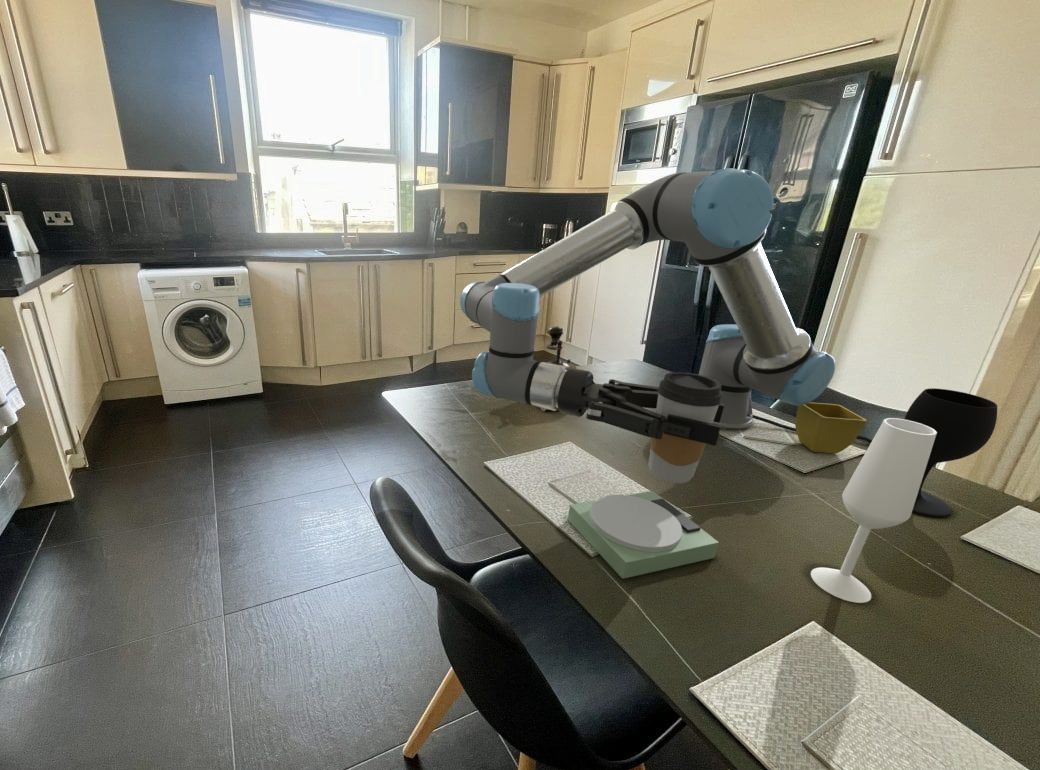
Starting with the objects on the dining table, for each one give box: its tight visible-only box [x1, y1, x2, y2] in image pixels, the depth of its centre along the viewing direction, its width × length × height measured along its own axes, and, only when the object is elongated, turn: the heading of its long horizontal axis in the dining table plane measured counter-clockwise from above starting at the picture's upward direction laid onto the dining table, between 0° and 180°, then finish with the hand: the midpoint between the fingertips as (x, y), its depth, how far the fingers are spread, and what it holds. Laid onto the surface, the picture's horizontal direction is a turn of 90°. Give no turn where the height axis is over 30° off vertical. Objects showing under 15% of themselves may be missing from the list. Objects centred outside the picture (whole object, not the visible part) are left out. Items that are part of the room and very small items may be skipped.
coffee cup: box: [647, 371, 723, 484], centre depth 71 cm, size 8×8×15 cm
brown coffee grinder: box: [544, 325, 577, 413], centre depth 124 cm, size 16×11×18 cm
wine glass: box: [904, 387, 998, 518], centre depth 83 cm, size 10×10×20 cm
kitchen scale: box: [567, 490, 720, 580], centre depth 74 cm, size 16×14×4 cm
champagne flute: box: [810, 417, 937, 604], centre depth 62 cm, size 7×7×24 cm
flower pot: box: [794, 401, 868, 454], centre depth 104 cm, size 9×9×9 cm
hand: (720, 424), depth 68 cm, fingers closed on coffee cup, 8 cm apart
